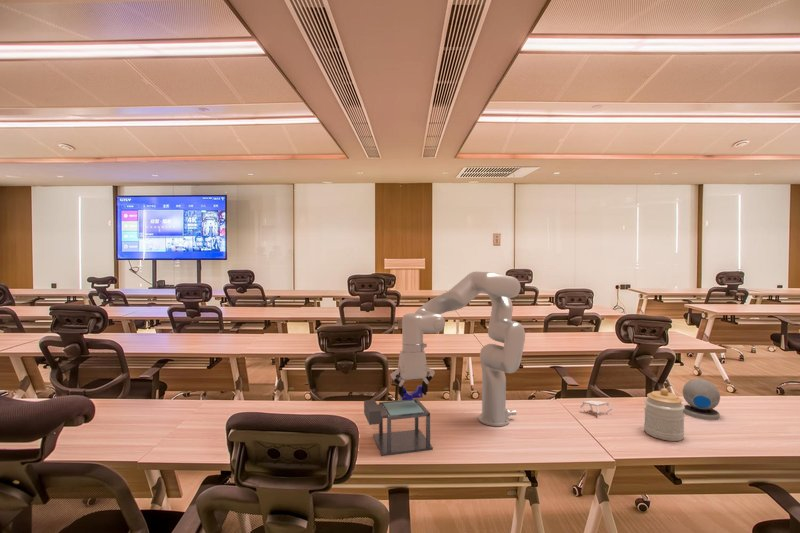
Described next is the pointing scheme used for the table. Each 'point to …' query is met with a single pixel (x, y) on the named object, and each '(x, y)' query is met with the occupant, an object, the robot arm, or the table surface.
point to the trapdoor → (388, 410)
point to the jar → (664, 415)
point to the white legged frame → (596, 403)
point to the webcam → (701, 399)
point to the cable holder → (412, 393)
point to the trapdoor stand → (404, 434)
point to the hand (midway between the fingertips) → (412, 394)
